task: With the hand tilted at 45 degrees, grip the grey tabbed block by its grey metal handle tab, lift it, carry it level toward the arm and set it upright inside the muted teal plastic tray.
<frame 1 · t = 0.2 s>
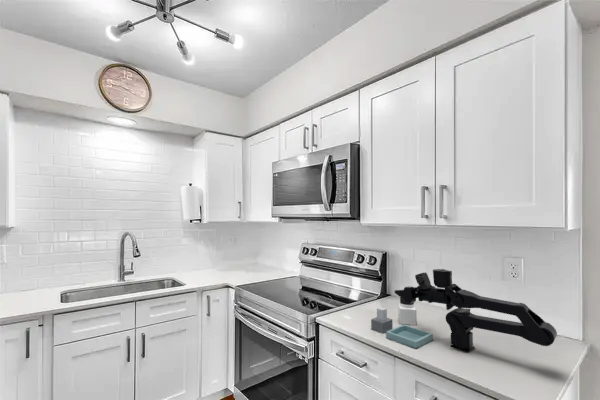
hand: (400, 290, 133), 16 cm above the worktop, tool horizontal, fingers open, 9 cm apart
tray: (409, 339, 121), on the worktop
medicine bottle: (407, 322, 141), on the worktop
grey tabbed block: (381, 329, 131), on the worktop
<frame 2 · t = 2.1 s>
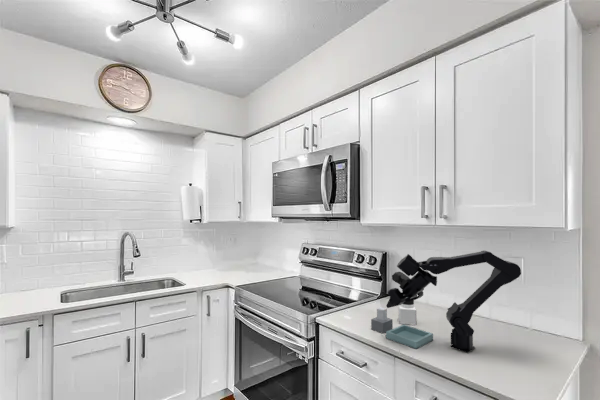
hand: (393, 304, 127), 12 cm above the worktop, tool tilted 45°, fingers open, 9 cm apart
nothing on the worktop moved.
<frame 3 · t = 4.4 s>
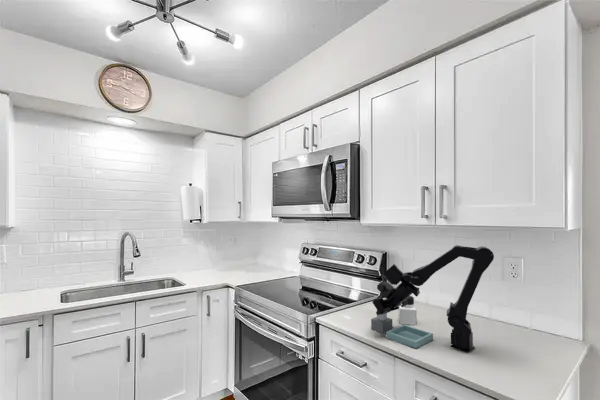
hand: (379, 313, 133), 7 cm above the worktop, tool tilted 45°, fingers closed on grey tabbed block, 3 cm apart
grey tabbed block: (381, 329, 131), on the worktop, touching gripper
everything else where it was.
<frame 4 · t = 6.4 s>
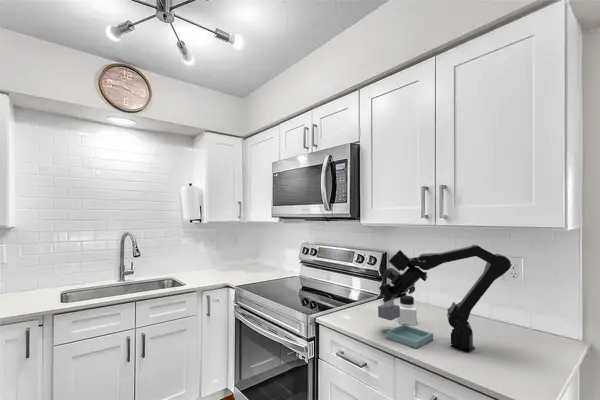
hand: (386, 300, 131), 13 cm above the worktop, tool tilted 45°, fingers closed on grey tabbed block, 3 cm apart
grey tabbed block: (389, 316, 129), point 6 cm above the worktop, touching gripper
everything else where it was.
when the fingers open (8 cm above the worktop, at t = 8.4 s): grey tabbed block drops 1 cm, resting on tray.
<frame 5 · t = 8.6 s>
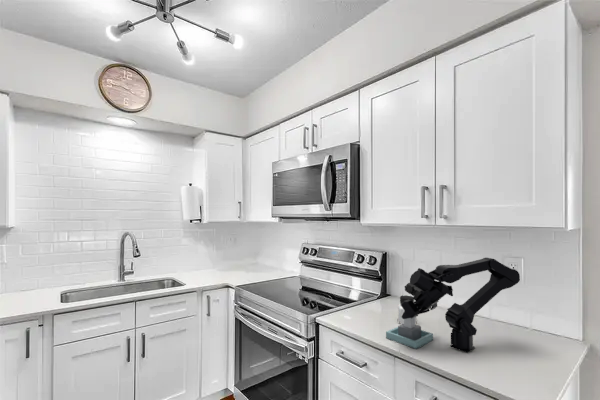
hand: (406, 316, 123), 9 cm above the worktop, tool tilted 45°, fingers open, 5 cm apart
grey tabbed block: (409, 337, 121), resting on tray
everything else where it was.
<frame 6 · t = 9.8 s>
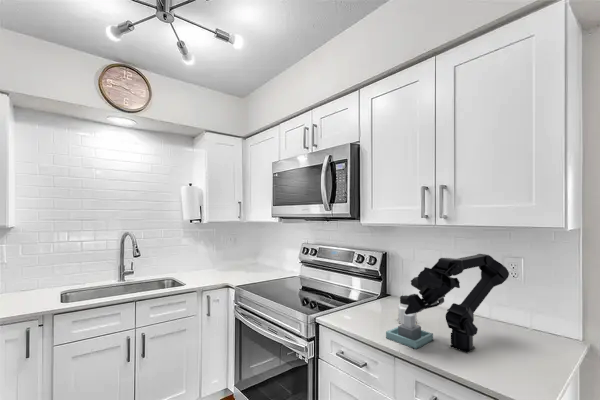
hand: (412, 311, 121), 11 cm above the worktop, tool tilted 45°, fingers open, 9 cm apart
nothing on the worktop moved.
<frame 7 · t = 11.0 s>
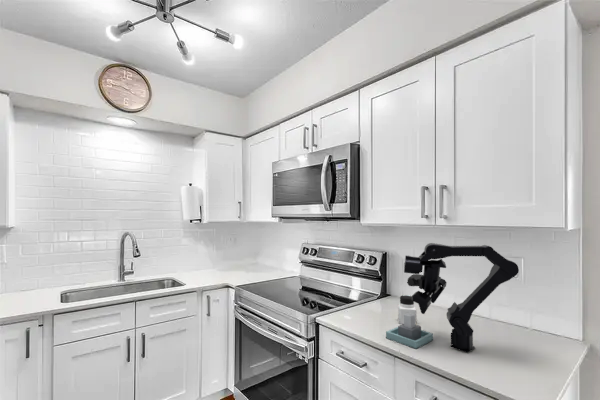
hand: (427, 307, 124), 12 cm above the worktop, tool tilted 20°, fingers open, 9 cm apart
nothing on the worktop moved.
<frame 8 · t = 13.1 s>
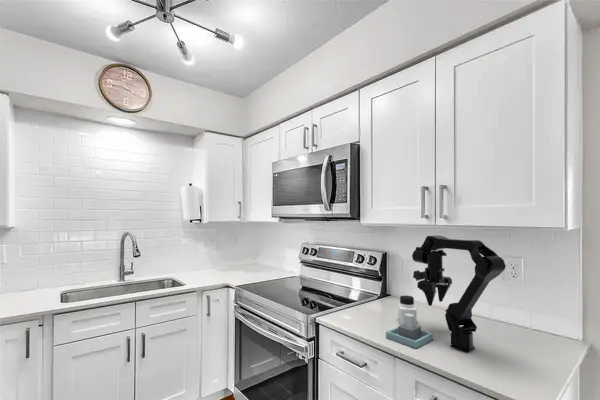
hand: (435, 303, 126), 13 cm above the worktop, tool pointing down, fingers open, 9 cm apart
nothing on the worktop moved.
at the end: grey tabbed block 0.1 cm off-centre on the tray, point 0.5 cm above the tray's base; grey tabbed block tilted 0°; the gripper is holding nothing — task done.
